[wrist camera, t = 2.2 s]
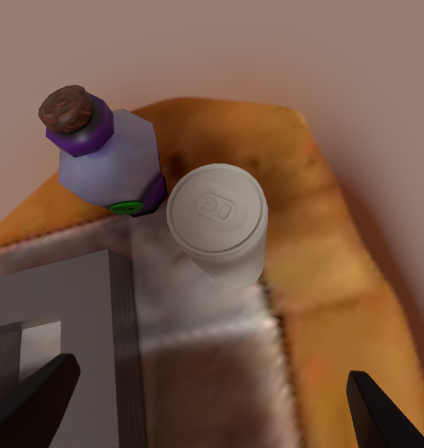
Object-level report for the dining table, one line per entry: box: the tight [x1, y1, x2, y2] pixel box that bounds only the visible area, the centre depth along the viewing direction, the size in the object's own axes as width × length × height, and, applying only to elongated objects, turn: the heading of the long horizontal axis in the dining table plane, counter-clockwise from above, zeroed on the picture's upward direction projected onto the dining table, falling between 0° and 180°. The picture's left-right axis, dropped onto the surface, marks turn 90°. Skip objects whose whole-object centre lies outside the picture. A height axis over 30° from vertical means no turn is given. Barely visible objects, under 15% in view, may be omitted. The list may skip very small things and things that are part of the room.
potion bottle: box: [39, 85, 167, 217], centre depth 21 cm, size 9×9×12 cm
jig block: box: [0, 249, 147, 448], centre depth 21 cm, size 15×15×4 cm
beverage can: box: [166, 164, 268, 288], centre depth 17 cm, size 5×5×12 cm
